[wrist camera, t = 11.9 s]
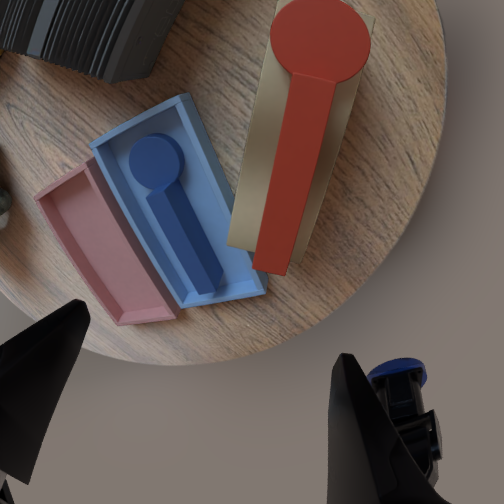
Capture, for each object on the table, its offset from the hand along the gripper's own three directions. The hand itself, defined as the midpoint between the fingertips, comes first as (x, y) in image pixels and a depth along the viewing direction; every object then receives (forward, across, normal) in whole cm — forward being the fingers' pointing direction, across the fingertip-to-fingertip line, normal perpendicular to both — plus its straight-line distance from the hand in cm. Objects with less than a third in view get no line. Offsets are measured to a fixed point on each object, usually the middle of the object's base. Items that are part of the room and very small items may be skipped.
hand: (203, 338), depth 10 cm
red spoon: (+7, -2, -5) cm, 9 cm away
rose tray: (+13, +12, +7) cm, 19 cm away
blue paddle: (+13, +5, +2) cm, 14 cm away
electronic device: (+13, +11, -16) cm, 23 cm away
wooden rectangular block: (+13, -2, -5) cm, 14 cm away
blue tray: (+13, +5, +2) cm, 14 cm away
